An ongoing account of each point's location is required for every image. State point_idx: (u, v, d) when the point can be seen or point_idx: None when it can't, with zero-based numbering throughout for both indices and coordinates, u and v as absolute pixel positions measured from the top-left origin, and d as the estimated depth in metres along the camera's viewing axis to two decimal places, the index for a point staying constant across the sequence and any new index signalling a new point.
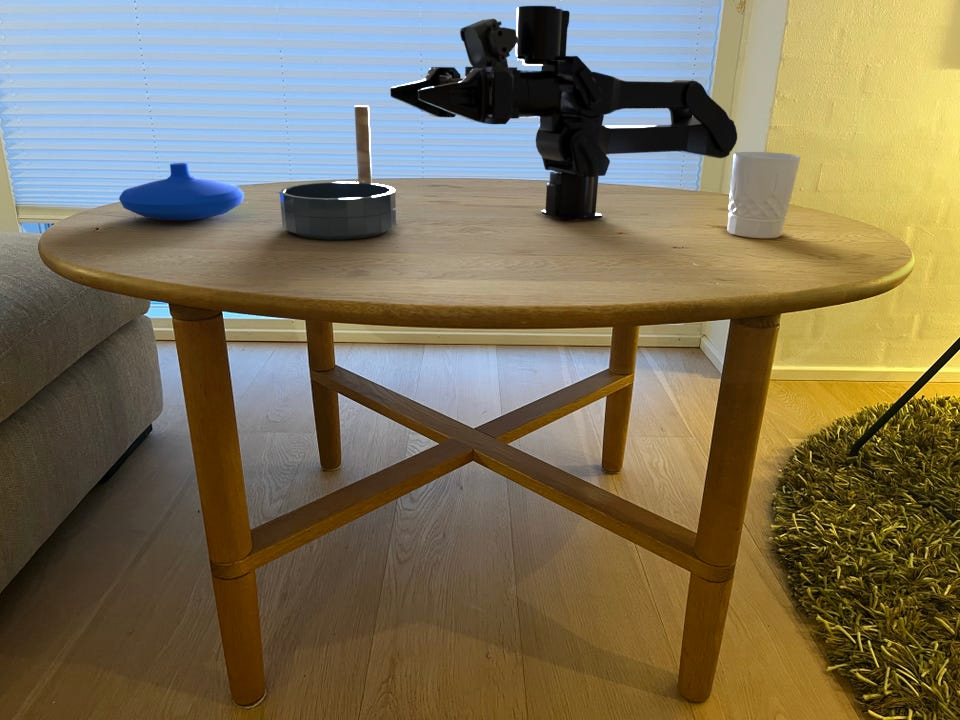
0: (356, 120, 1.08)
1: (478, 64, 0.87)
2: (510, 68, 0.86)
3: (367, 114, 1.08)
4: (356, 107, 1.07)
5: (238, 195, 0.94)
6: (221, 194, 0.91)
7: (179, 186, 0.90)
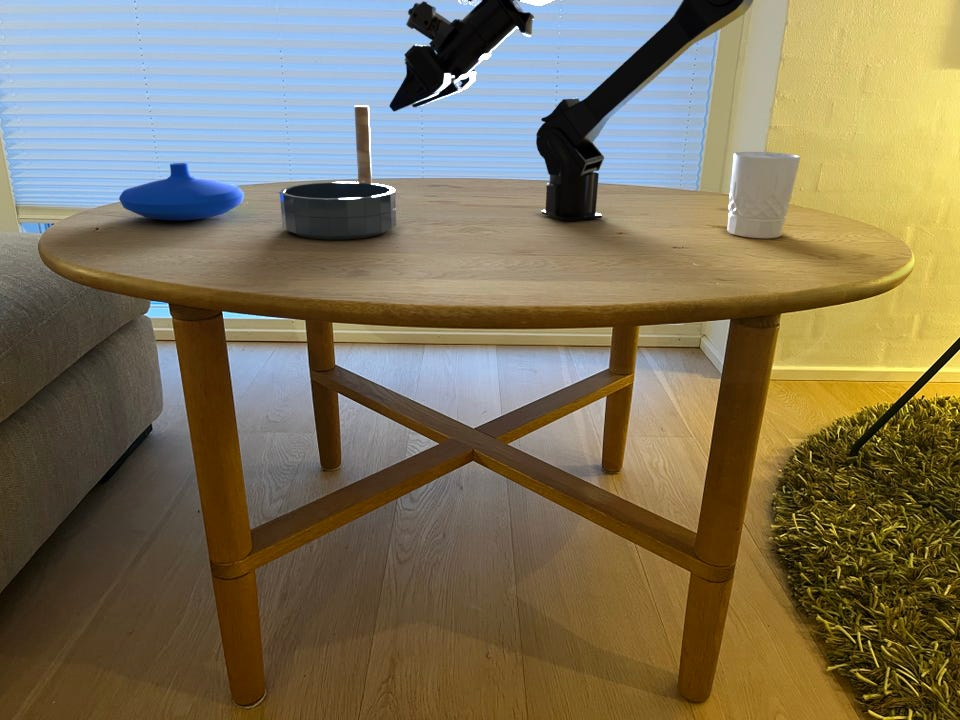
0: (356, 120, 1.08)
1: None
2: (449, 25, 0.95)
3: (367, 114, 1.08)
4: (356, 107, 1.07)
5: (238, 195, 0.94)
6: (221, 194, 0.91)
7: (179, 186, 0.90)
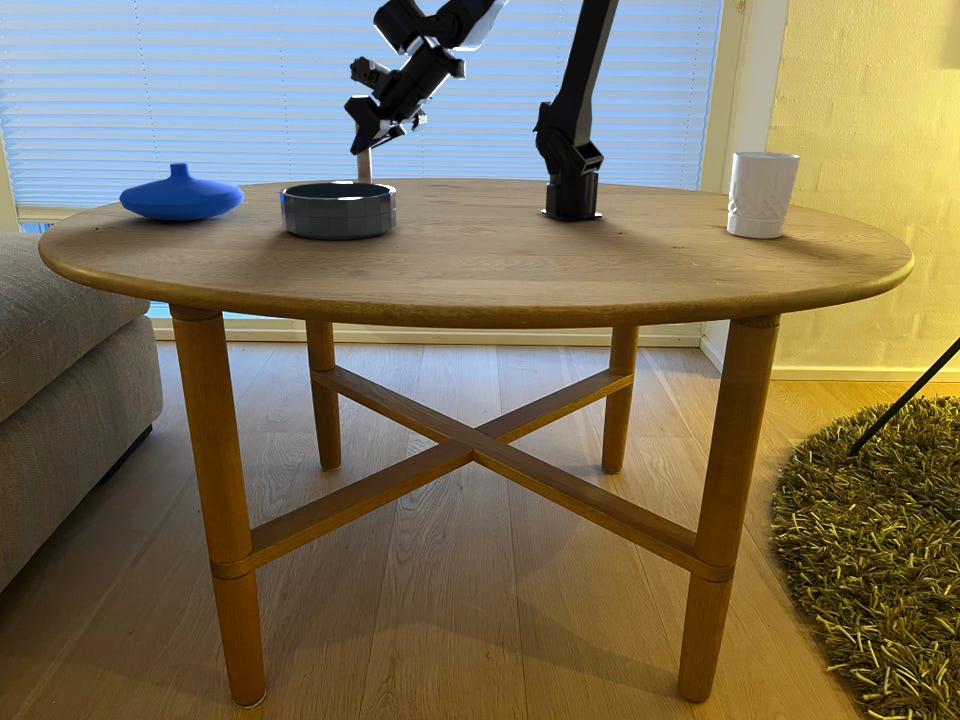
0: None
1: None
2: (387, 76, 1.03)
3: None
4: None
5: (238, 195, 0.94)
6: (221, 194, 0.91)
7: (179, 186, 0.90)
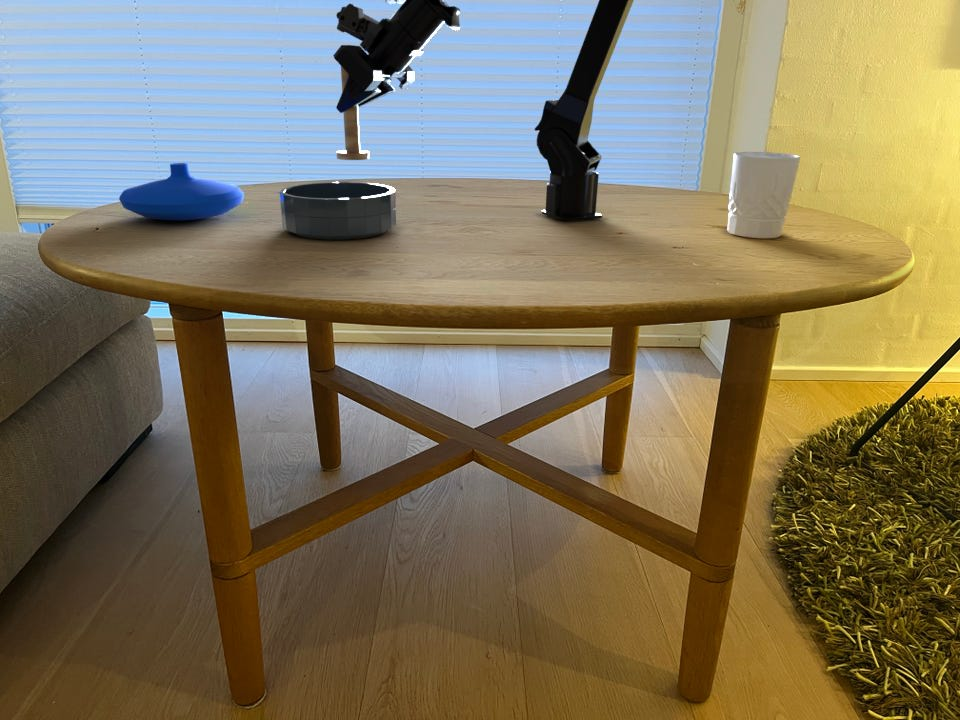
0: (342, 74, 1.02)
1: None
2: (377, 25, 0.97)
3: None
4: None
5: (238, 195, 0.94)
6: (221, 194, 0.91)
7: (179, 186, 0.90)
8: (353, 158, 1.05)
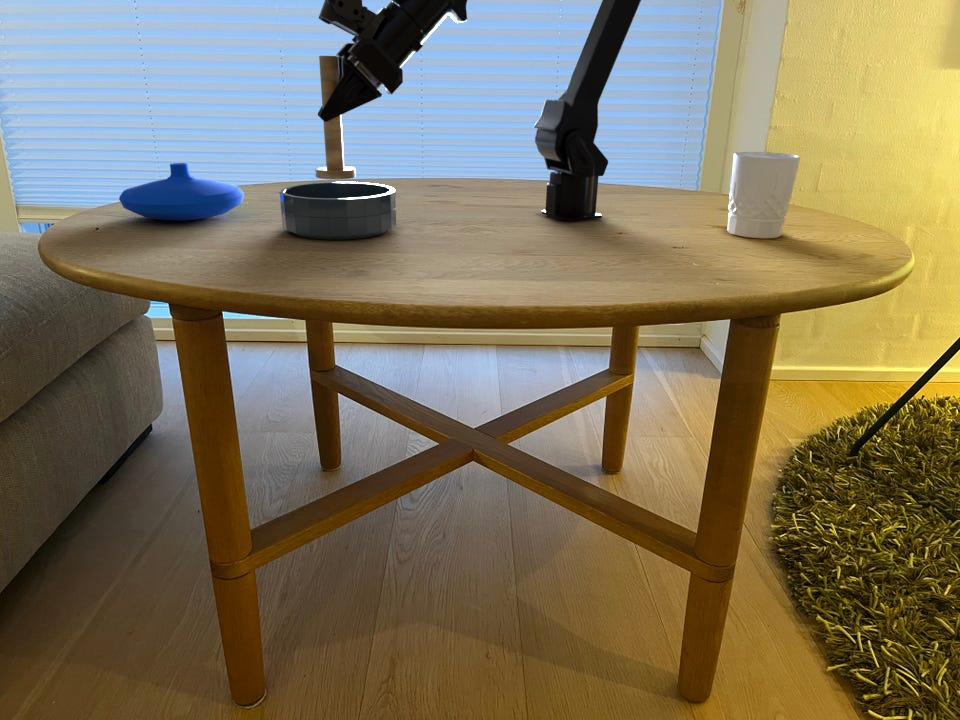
0: (325, 74, 0.82)
1: (355, 33, 0.83)
2: (378, 15, 0.80)
3: None
4: (326, 57, 0.82)
5: (238, 194, 0.94)
6: (221, 194, 0.91)
7: (179, 186, 0.90)
8: (345, 176, 0.86)
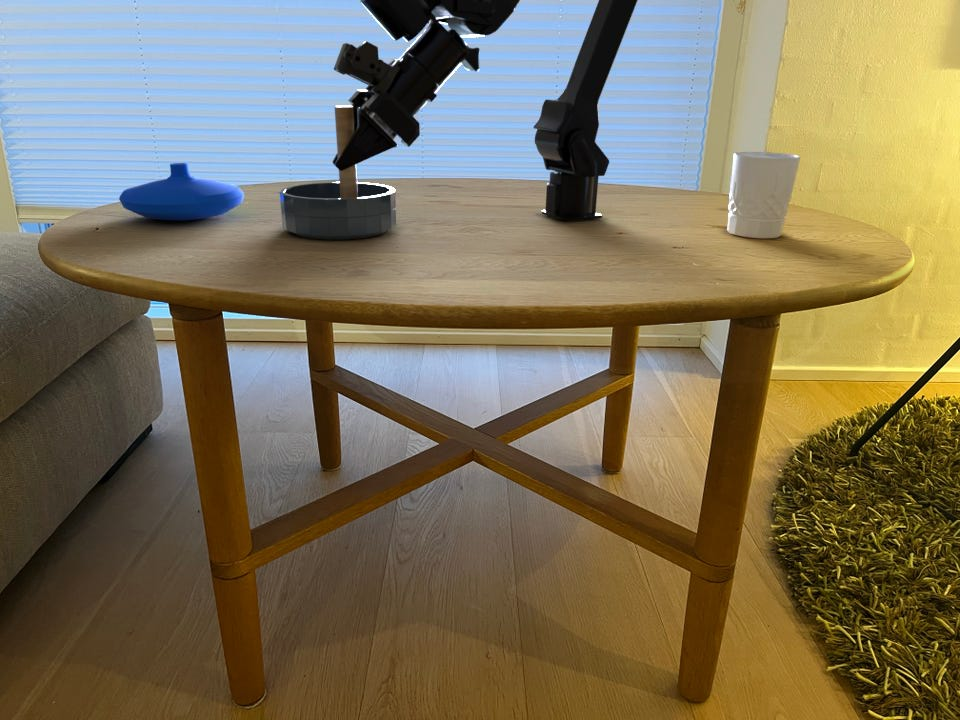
0: (341, 125, 0.83)
1: (370, 84, 0.84)
2: (393, 67, 0.81)
3: (353, 116, 0.84)
4: (341, 108, 0.83)
5: (238, 194, 0.94)
6: (221, 194, 0.91)
7: (179, 186, 0.90)
8: None
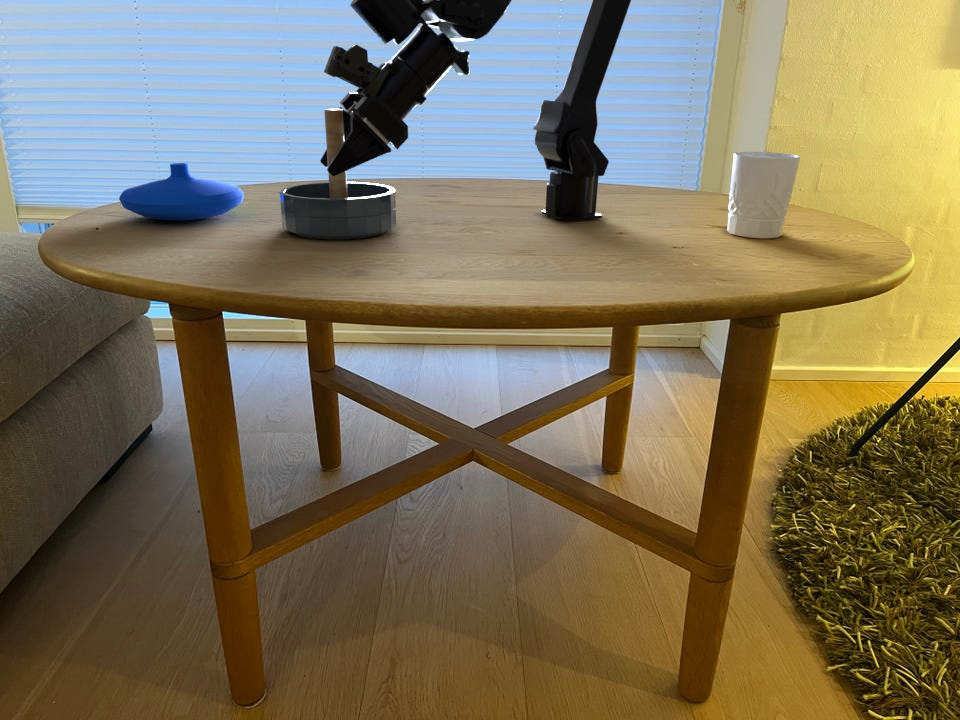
0: (330, 127, 0.84)
1: (360, 87, 0.84)
2: (383, 70, 0.82)
3: None
4: (331, 111, 0.83)
5: (238, 195, 0.94)
6: (221, 194, 0.91)
7: (179, 186, 0.90)
8: None
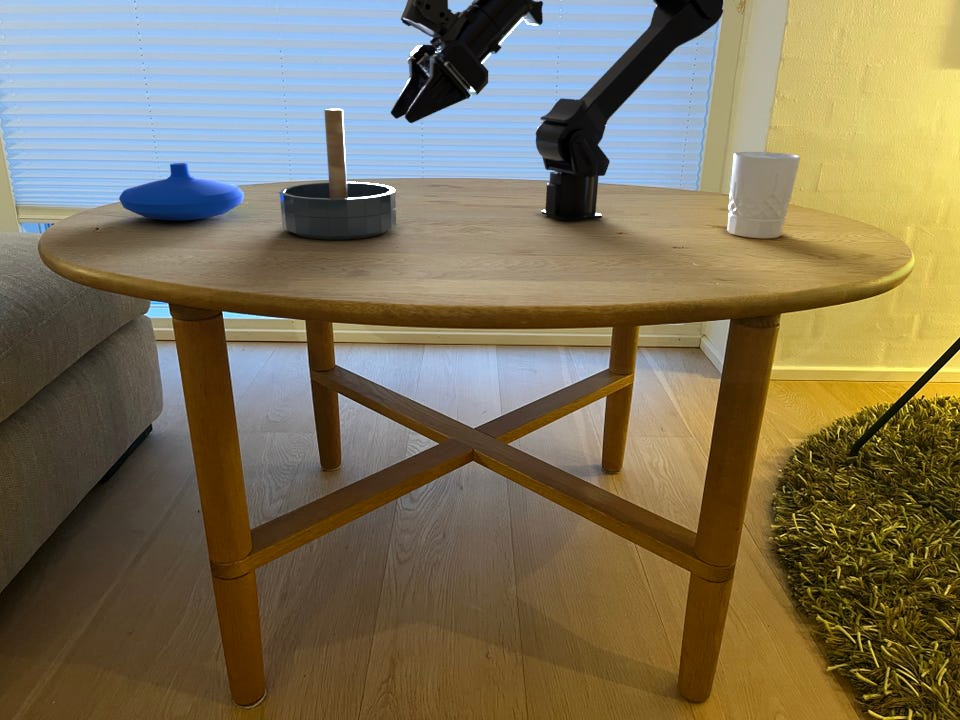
0: (330, 127, 0.84)
1: (435, 35, 0.85)
2: (461, 17, 0.82)
3: None
4: (331, 111, 0.83)
5: (238, 195, 0.94)
6: (221, 194, 0.91)
7: (179, 186, 0.90)
8: None
